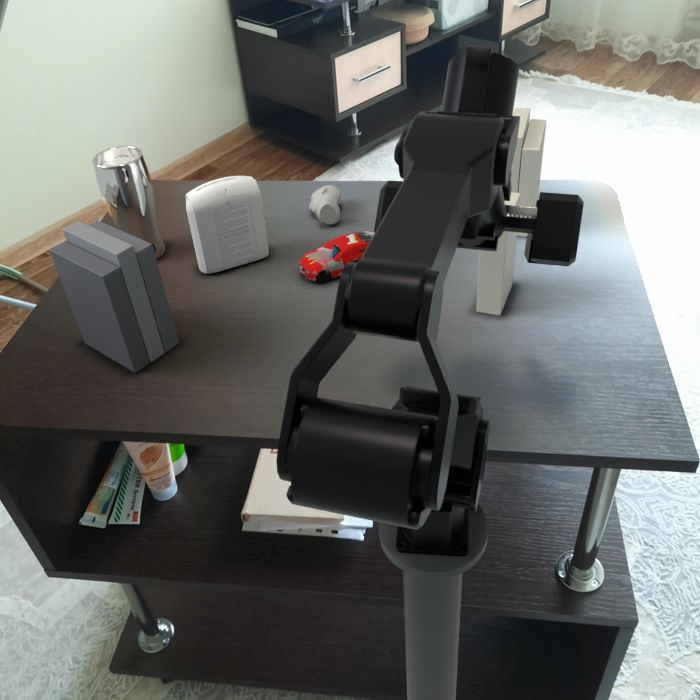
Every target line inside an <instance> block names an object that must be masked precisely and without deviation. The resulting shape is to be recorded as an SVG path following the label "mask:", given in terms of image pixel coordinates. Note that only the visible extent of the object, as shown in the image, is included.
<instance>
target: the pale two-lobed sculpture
mask: <svg viewBox="0 0 700 700" xmlns="http://www.w3.org/2000/svg"><path fill="white" fill-rule="evenodd" d="M341 199H342V192H341V190H340V189H339V188H338V187H337V186H335V185H327V184H326V185H323V186H322V187H320V188H318V189H317V190H315V191H313V193H312V194H311V196H310V204H309V206H308V210H309V211H311V212H312V213H313V214H314V215H316V218H317V219H318V221H319V222H320V223H322V224H324V225H330V226H331V225H335V224H337V223H338V222H339V220H340V218H341V210H340V209H341V208H340V206H339V203H340V202H341Z"/></svg>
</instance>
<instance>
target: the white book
mask: <svg viewBox="0 0 700 700" xmlns="http://www.w3.org/2000/svg"><path fill="white" fill-rule="evenodd" d="M520 196H521V193H514V192H511V197H510V201H505V205H514V206H520ZM507 216H509V214H508V215H507ZM511 217H514V215H513V214H512V216H511ZM516 217H518V214H517V215H516ZM517 238H518V236H517V232H509V231H504V232H503V234H502V235H501V237H500V238H499V240H498V247H497V252H496V251H485V250H479V253H478V255H479V256H478V273H477V293H476V307H475V308H476V309H475V310H476V312H477V313H482V314H487V315H493V316H499V317H500V316H501V315H502V313H503V310H504V307H505V305H506V302H507V301H508V297H509V294H510V293H511V289H512V288H513V285H514V284H513V282H514V271H515V261H516V250H517Z"/></svg>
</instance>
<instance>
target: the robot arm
mask: <svg viewBox="0 0 700 700" xmlns="http://www.w3.org/2000/svg"><path fill="white" fill-rule="evenodd" d="M519 73H520V64H519V63H517V62H515V61H514V60H513V59H511V58H510V57H508V56H506V55H504V54H500V53H497V52H494V51H493V46H492V45H473V44H472V45H470V44H469V45H468V44H467V45H466V49H465V52H461V53H458V54H456V55H454V56H453V57H452V58H451V59H450V60H449V61H448V64H447V70H446V78H445V84H444V91H443V97H442V103H441V104H442V105H441V110H437V111H425V110H423V111H420V112H419V113H417V114H416V115H415V116H414V117H413V118H412V120H411V121H408V122H407V124H406V125H405V127H404V129H403V131H402V133H401V135H400V137H399V138H398V141H397V143H396V145H395V146H394V150H393V151H394V153H393V158H394V159H393V160H394V162H395V164H396V165H397V166H398V174H399V177H400V178H401V179H402V181H400V180H387V182H385V183H384V184H383V186H382V187H381V188H380V190H379V196H378V203H377V209H376V215H375V216H376V217H375V221H374V228H373V232H374V235H373V237H372V239H371V241H370V242H369V244H368V246H367V248H366V250H365V251H364V253H363V255H362V257H361V259H360V260H359V261H358V262H357V263H355V262H348V263H347V264H346V265H345V266H344V269H343V271H342V273H341V276H339V281H338V284H337V290H336V296H335V301H334V302H335V303H334V307H333V313H332V319H331V321H330V323H329V324H328V325H327V326H326V328H325V329H324V330H323V332H322V333H321V334H320V335H319V336H318V338H317V339H316V340H315V342H314V343H313V344H312V345H311V347H310V348H309V349H308V351H306V353H305V354H304V356H303V357H302V358H301V360H300V361H299V362H298V363H297V364H296V365H295V367H294V368H293V369H292V372H291V374H290V377H289V381H288V388H287V393H286V400H285V405H284V409H283V415H282V421H281V427H280V433H279V438H278V444H277V452H276V472H277V475H278V478H279V479H280V480H282V481H284V482H288V483H290V485H288V488H287V491H286V495H285V496H286V499H287V500H288V501H289V503H290V504H291V505H294V506H299V507H303V508H304V507H305V508H309V509H313V510H318V511H324V512H327V513H333V514H338V515H343V516H348V517H353V518H358V519H363V520H367V521H372V522H377V523H379V522H381V523H386V524H391V525H396V526H397V537H396V550H397V551H398V552H399V553H411V554H427V555H443V556H460V557H464V556H467V555H468V509H470V510H471V511H476V509H477V505H478V504H479V499H480V495H481V489H482V486H483V481H484V476H485V470H486V461H487V452H488V444H489V443H488V442H489V435H490V424H491V421H490V419H487V418H483V416H484V408H483V407H482V405H481V400H482V397H481V396H474V395H468V394H460V393H456V391H455V388H454V385H453V383H452V380H451V378H450V374H449V372H448V370H447V368H446V367H447V366H446V365H445V362H444V360H443V357H442V355H441V352H440V350H439V347H438V345H437V339H438V332H439V327H440V320H441V313H442V308H443V307H442V306H443V299H444V298H443V297H444V283H445V281H446V279H447V275H448V272H449V269H450V267H451V264H452V261H453V259H454V256H455V253H456V250H457V249H465V250H467V249H468V250H475V251H476V250H477V251H480V250H485V251H496V252H497V247H498V240H499V238H500V237H501V235H502V234H503V232H504V231H509V232H520V233H528V235H527V237H525V239H526V240H525V245H524V253H523V256H524V257H525V259H526V261H527V264H536V265H544V266H545V265H546V266H557V267H570V266H571V265H573V263H575V262H576V260H577V254H578V246H579V241H580V240H579V239H580V233H581V225H582V219H583V218H582V217H583V211H584V203H585V202H584V200H583V199H582V198H581V196H580V195H579V194H573V193H572V194H571V193H559V192H547V191H546V192H545V191H539V195H538V200H537V202H536V207H526V206H514V205H505V201H510V197H511V190H512V186H511V173H512V172H511V167H512V163H513V158H514V154H515V150H516V145H517V138H518V131H519V124H520V116H512V115H513V111H514V108H515V102H516V101H515V100H516V93H517V87H518V81H519ZM508 214H509V216H507V215H508ZM512 214H513V215H514V217H511V216H512ZM517 214H518V217H516V215H517ZM521 215H522V217H523V218H522V217H520V216H521ZM525 215H526V216H527V218H524V217H525ZM529 216H531V218H529ZM357 335H364V336H369V337H378V338H386V339H393V340H401V341H408V342H415V343H418V344H419V346H420V348H421V351H422V353H423V356H424V359H425V362H426V364H427V367H428V370H429V371H430V374H431V377H432V379H433V382H434V385H435V387H436V389H437V390H434V389H428V388H423V387H415V386H408V385H407V386H402V387H400V388H399V395H398V399H397V400H396V401H395V404H393V406H392V407H391V408H387V407H381V406H375V405H374V406H373V405H370V404H369V405H366V404H361V403H356V402H350V401H343V400H337V399H331V398H325V397H319V396H318V394H319V387H320V384H321V382H322V381H323V379H324V378H325V377H326V376H327V374H328V373H329V372H330V371H331V369H332V368H333V367H334V365H335V364H336V363H337V362H338V360H340V358H341V357H342V356H343V354H344V353H345V352H346V351H347V349H348V348H349V346H350V345H352V344H353V342H354V340H355V339H356V337H357ZM400 546H403V548H400ZM460 550H465V551H464V552H462V551H460Z"/></svg>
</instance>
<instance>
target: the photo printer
mask: <svg viewBox="0 0 700 700" xmlns="http://www.w3.org/2000/svg"><path fill="white" fill-rule="evenodd" d="M261 193H262V192H261V189H260V187H259V185H258V182H257V180H256V179H255V178H254V177H253V176H249V175H230V176H224V177H220V178H216V179H213V180H210V181H207V182H205V183H203V184H200V185H198V186H196V187H194V188H193V189H191V190H190V191H188V192H187V193H185V210H186V214H187V219H188V223H189V229H190V233H191V237H192V243H193V247H194V251H195V256H196V260H197V261H196V262H197V266H198V270H199V271H200V272H201V273H203V274H206V275H207V274H208V275H210V274H215V273H219V272H222V271H225V270H229V269H233V268H235V267H239V266H243V265H246V264H249V263H253V262H256V261H259V260H262V259H265V258H267V257H268V256H269V255H270V250H269V249H270V248H269V243H268V236H267V229H266V221H265V213H264V208H263V207H264V206H263V200H262V194H261Z"/></svg>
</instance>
